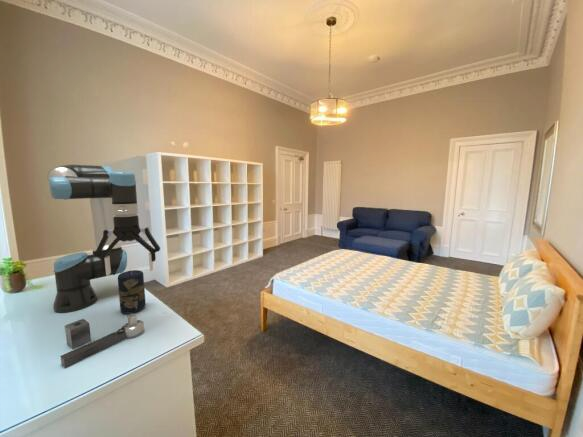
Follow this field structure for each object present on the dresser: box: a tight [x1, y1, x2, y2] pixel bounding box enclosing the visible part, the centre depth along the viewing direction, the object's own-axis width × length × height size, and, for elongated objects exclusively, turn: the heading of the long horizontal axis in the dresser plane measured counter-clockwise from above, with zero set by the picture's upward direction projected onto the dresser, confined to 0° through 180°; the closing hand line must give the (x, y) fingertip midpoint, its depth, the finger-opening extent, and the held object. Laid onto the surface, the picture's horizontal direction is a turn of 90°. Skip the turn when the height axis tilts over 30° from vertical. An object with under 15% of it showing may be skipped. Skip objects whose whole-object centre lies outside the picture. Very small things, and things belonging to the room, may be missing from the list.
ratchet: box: [60, 312, 145, 369], centre depth 84 cm, size 7×24×7 cm, turn 148°
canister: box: [117, 269, 146, 314], centre depth 108 cm, size 10×10×18 cm
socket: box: [64, 318, 92, 350], centre depth 86 cm, size 5×5×7 cm
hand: (130, 272), depth 91 cm, fingers open, 13 cm apart
